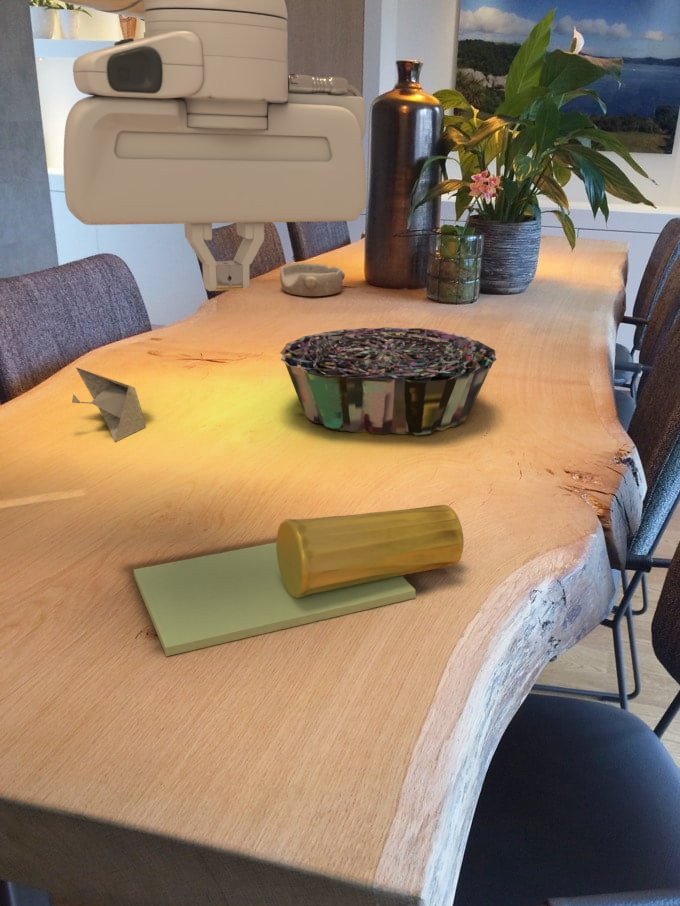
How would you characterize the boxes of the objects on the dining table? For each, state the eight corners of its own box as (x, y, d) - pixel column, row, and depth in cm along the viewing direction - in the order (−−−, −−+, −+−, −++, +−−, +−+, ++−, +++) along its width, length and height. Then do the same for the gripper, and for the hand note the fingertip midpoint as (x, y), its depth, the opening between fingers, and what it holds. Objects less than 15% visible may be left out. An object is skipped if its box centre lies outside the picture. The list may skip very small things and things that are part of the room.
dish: (318, 301, 171) (318, 276, 168) (266, 292, 177) (265, 268, 175) (357, 290, 182) (358, 267, 180) (307, 282, 188) (307, 260, 186)
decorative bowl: (512, 457, 99) (527, 377, 95) (282, 449, 94) (287, 364, 90) (458, 392, 122) (468, 325, 118) (271, 383, 117) (274, 313, 113)
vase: (306, 598, 61) (471, 570, 67) (295, 516, 61) (460, 495, 67) (281, 597, 67) (436, 571, 73) (271, 522, 67) (426, 502, 73)
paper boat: (172, 422, 99) (104, 420, 92) (148, 458, 102) (81, 459, 95) (130, 352, 103) (63, 345, 96) (109, 388, 107) (42, 384, 100)
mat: (166, 656, 59) (165, 647, 58) (134, 577, 68) (133, 569, 68) (415, 598, 67) (416, 589, 66) (354, 534, 76) (355, 527, 76)
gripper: (348, 79, 60) (343, 274, 65) (46, 61, 51) (72, 286, 57) (386, 78, 54) (377, 290, 60) (57, 58, 46) (85, 306, 52)
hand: (226, 288), depth 59 cm, fingers closed
